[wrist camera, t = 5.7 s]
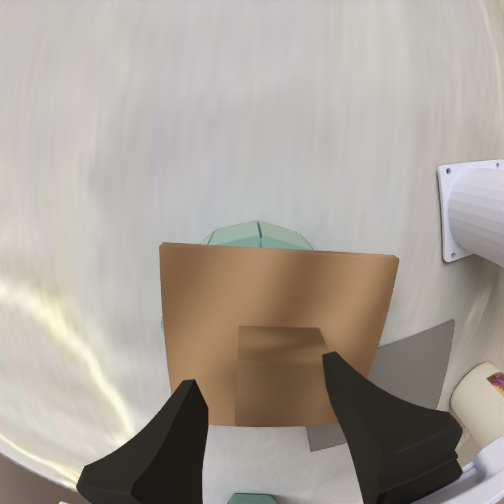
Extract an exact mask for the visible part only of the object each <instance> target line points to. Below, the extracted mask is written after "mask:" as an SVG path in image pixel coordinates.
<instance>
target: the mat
mask: <svg viewBox="0 0 504 504" xmlns="http://www.w3.org/2000/svg"><path fill="white" fill-rule="evenodd" d="M454 325H455V321H454V320H450V321H448V322H446V323H443V324H441V325H438V326H436V327H434V328H431V329H429V330H426V331H423V332H421V333H418V334H416V335H413V336H410V337H408V338H405V339H402V340H399V341H396V342H394V343H391V344H388V345H385V346H382V347H379V348H377V351H376V354H375V357H374V360H373V363H372V366H371V369H370V372H369V375H368V377H367V379H368V380H369V381H371V382H372V383H374V384H375V385H376V386H378V387H380V388H381V389H383V390H385V391H386V392H388V393H390V394H392V395H394V396H396V397H398V398H400V399H402V400H405V401H407V402H410V403H413V404H415V405H418V406H422V407H425V408H429V409H433V410H434V409H436V408H437V405H438V402H439V398H440V395H441V391H442V387H443V383H444V379H445V374H446V370H447V365H448V360H449V355H450V350H451V344H452V338H453V332H454ZM307 432H308V437H309V443H310V449H311V452H313V451H317V450H321V449H325V448H329V447H333V446H337V445H341V444H344V443H347V440H346V438H345V436H344V433H343V431H342V429H341V426H340V424H339V423H334V424H323V425H310V426H307Z"/></svg>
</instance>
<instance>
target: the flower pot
mask: <svg viewBox="0 0 504 504" xmlns="http://www.w3.org/2000/svg"><path fill="white" fill-rule="evenodd" d="M227 504H277V502H276V501H275V500H274V499H273V498H272V497H271V496H270V495H252V494H234V495H233V496H232V497H231V498H230V500H229V501H228V503H227Z"/></svg>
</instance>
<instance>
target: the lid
mask: <svg viewBox="0 0 504 504" xmlns="http://www.w3.org/2000/svg"><path fill="white" fill-rule="evenodd" d="M159 252H160V279H161V297H162V312H163V325H164V336H165V346H166V355H167V364H168V372H169V380H170V387H171V394H173V393H174V391H175V390H176V389H177V387H178V386H179V385H180V383H181V382H182V381H183V380H190V379H195V380H196V382H197V384H198V387H199V389H200V391H201V393H202V395H203V397H204V399H205V402H206V404H207V406H208V408H209V424H208V425H222V426H242V427H290V426H310V425H323V424H334V423H339V422H338V420H337V417H336V415H335V413H334V410H333V408H332V406H331V403H330V400H329V396H328V393H327V389H326V385H325V376H324V367H323V359H322V355H323V354H326V353H330V352H334V351H336V352H337V353H338V354H339V355H340V356H341V357H342V358H343V359H344V360H345V361H346V362H347V363H348V364H350V365H351V366H352V367H353V368H354V369H355V370H356V371H358V372H359V373H360V374H361V375H363V376H364V377H365V378H366V379H367V377H368V375H369V372H370V369H371V366H372V363H373V360H374V357H375V354H376V351H377V347H378V344H379V341H380V337H381V334H382V331H383V327H384V323H385V320H386V316H387V312H388V308H389V304H390V300H391V296H392V292H393V288H394V283H395V279H396V274H397V269H398V264H399V258H397V257H395V256H394V255H383V254H367V253H350V252H333V251H315V250H297V249H279V248H261V247H243V246H224V245H205V244H186V243H166V242H163V243H162V244H161V245H160V246H159Z"/></svg>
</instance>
